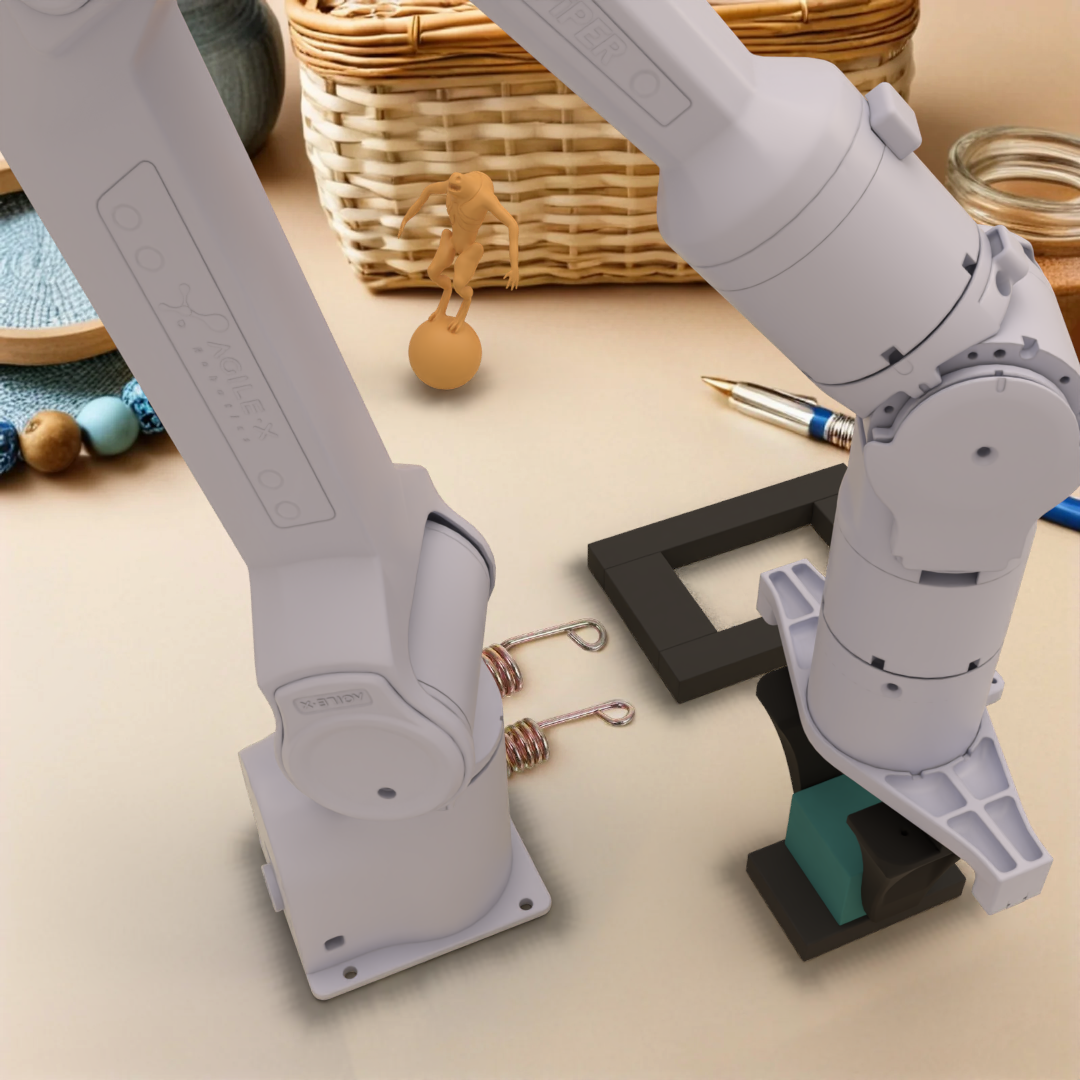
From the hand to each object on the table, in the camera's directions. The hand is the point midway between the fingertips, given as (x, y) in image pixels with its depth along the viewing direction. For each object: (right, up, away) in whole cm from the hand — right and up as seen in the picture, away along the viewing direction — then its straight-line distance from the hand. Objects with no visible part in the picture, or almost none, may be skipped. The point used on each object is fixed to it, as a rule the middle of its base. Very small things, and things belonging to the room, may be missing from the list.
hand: (858, 860), depth 55 cm
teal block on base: (0, -1, +1) cm, 2 cm away
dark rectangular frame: (-2, +10, +13) cm, 16 cm away
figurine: (-16, +21, +26) cm, 37 cm away
